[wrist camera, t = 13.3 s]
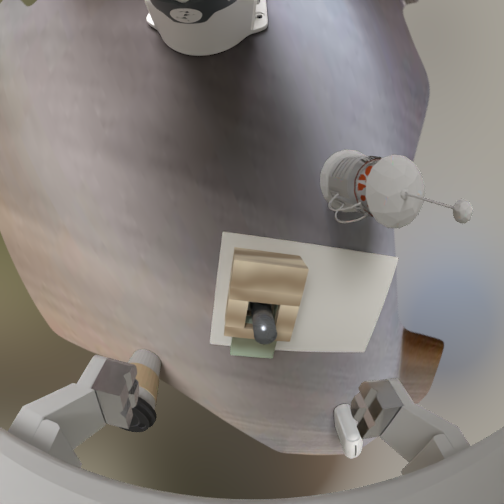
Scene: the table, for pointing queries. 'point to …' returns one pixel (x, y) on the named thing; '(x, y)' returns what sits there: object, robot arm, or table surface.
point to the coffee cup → (145, 389)
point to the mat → (317, 293)
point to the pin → (263, 323)
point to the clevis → (262, 297)
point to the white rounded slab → (347, 431)
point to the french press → (379, 188)
